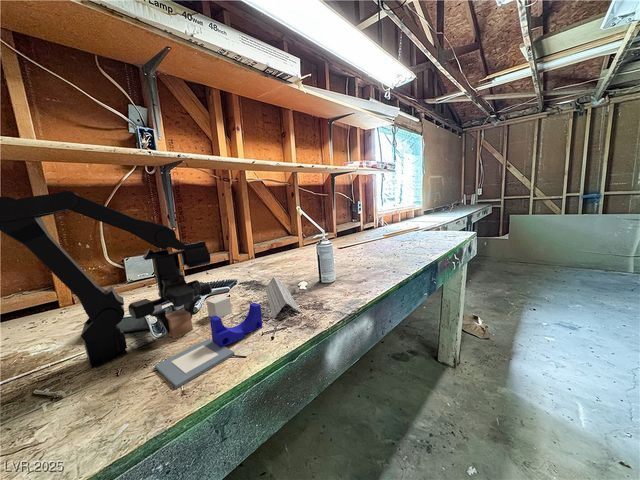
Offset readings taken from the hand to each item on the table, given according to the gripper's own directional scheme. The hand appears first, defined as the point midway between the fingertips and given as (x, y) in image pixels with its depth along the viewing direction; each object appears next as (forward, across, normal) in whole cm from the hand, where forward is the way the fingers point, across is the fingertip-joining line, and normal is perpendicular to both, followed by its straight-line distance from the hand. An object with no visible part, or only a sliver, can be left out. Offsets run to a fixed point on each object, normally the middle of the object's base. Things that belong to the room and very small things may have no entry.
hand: (179, 328), depth 68 cm
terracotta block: (+1, 0, 0) cm, 1 cm away
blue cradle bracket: (+1, +7, -18) cm, 19 cm away
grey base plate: (+1, -4, -18) cm, 18 cm away
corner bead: (+2, +30, -8) cm, 31 cm away
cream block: (+1, +12, 0) cm, 12 cm away
